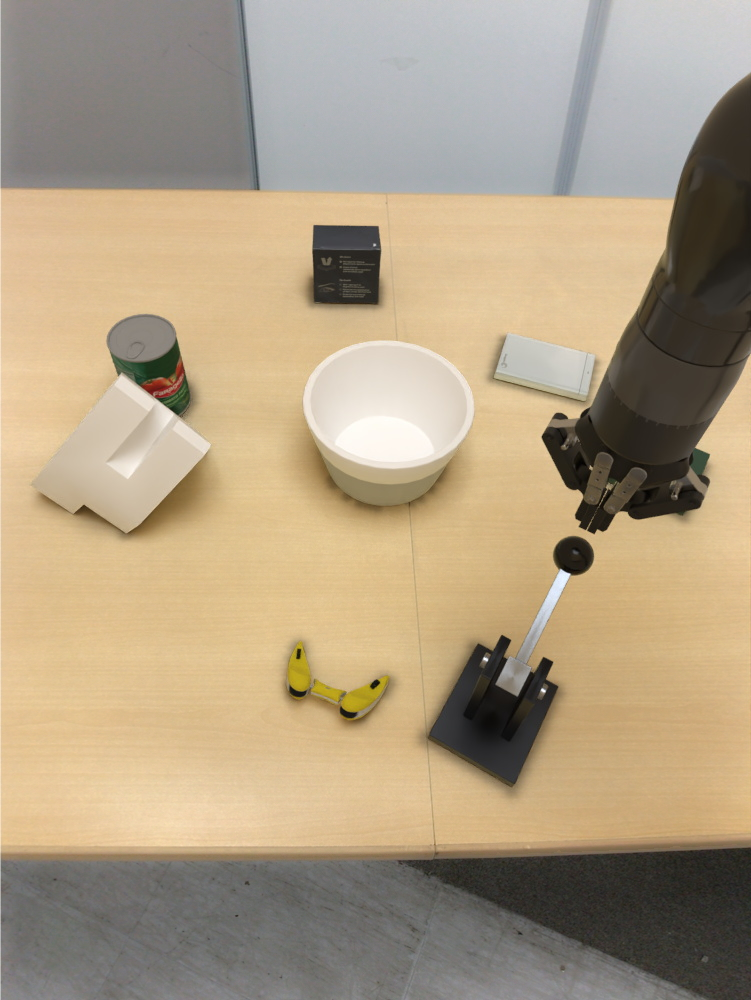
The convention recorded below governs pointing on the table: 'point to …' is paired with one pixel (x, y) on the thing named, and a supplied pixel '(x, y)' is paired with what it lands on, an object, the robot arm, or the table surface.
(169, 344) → the canned tomato
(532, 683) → the bracket
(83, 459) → the slotted wedge
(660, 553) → the table surface
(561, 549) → the lever
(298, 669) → the yellow bent piece
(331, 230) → the box
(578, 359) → the hard drive
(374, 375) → the bowl
